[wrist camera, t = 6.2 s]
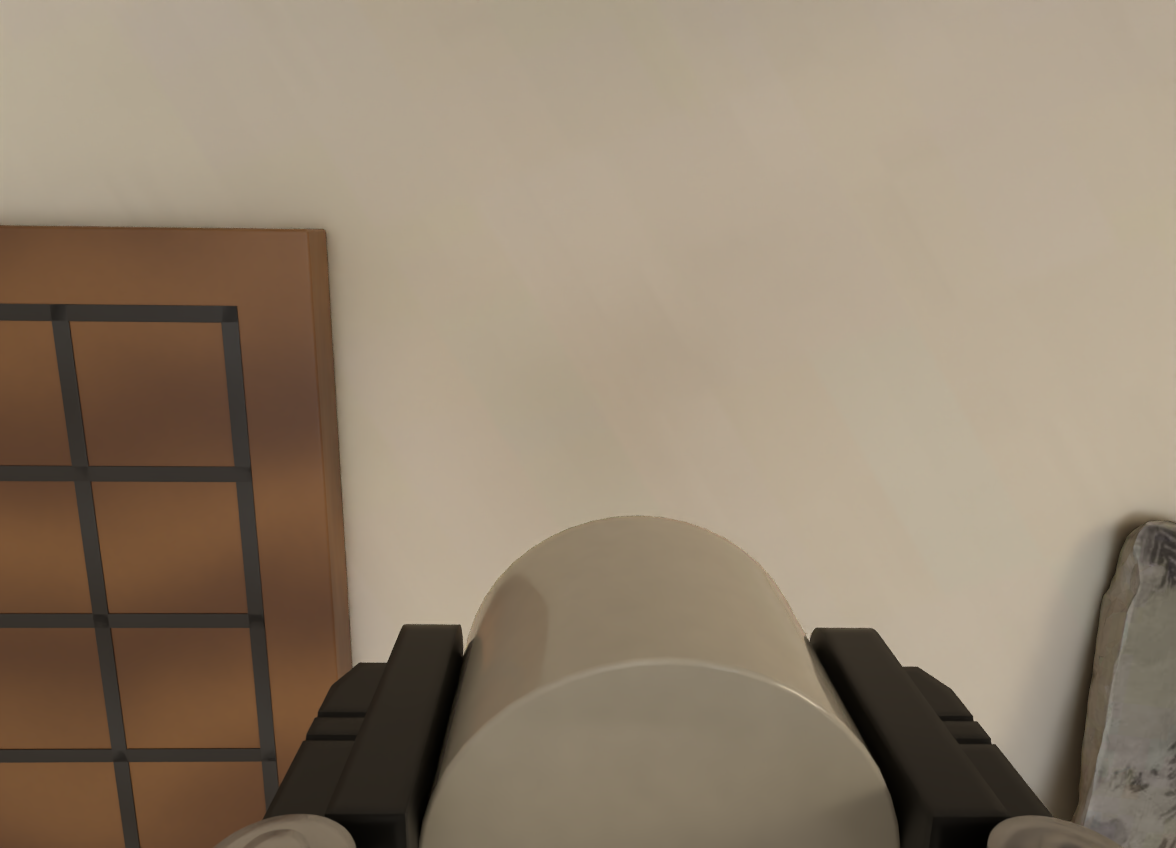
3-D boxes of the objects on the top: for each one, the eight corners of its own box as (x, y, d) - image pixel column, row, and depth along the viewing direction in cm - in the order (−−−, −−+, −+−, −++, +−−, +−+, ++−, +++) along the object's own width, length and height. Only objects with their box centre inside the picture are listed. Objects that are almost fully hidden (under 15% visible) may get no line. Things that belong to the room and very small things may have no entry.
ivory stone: (461, 512, 11) (404, 657, 7) (814, 515, 11) (931, 660, 7) (467, 815, 12) (423, 1068, 8) (787, 815, 12) (876, 1066, 8)
